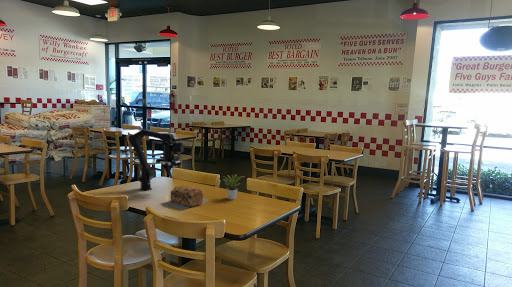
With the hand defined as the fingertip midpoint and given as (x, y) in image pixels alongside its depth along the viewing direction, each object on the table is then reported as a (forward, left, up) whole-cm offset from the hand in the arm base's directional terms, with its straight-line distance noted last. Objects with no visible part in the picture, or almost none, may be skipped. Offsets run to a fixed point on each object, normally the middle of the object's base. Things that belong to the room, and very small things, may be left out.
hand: (168, 174), depth 247 cm
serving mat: (+27, -11, -12) cm, 32 cm away
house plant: (+44, +16, -12) cm, 48 cm away
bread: (+29, -12, -12) cm, 34 cm away
